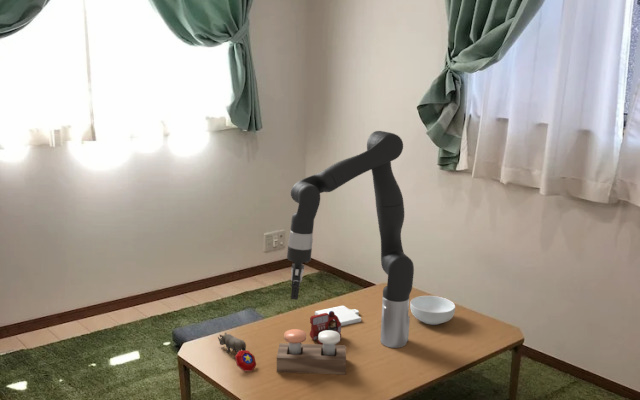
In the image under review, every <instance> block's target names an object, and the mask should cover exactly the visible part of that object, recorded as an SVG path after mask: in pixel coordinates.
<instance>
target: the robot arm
mask: <svg viewBox="0 0 640 400" xmlns="http://www.w3.org/2000/svg"><path fill="white" fill-rule="evenodd" d="M366 141H367V142H366V151H364V152H362V153H359V154H356V155H353V156H351V157H347V158H345V159H343V160H340V161H338V162H335V163H334V164H332V165H330V166H328V167H326V168H325V169H324V170H323V169H322V171H320V172H318V173H316V174H315V173H314V174H313V175H310V176H307V177H305V178H302V179H300V180H299V181H297V182H295V184H294V185H293V186H292V187H291V190H290V197H291V199H292V200H293V201H294V202H295V203H296V204H298V206H297V211H296V212H294V213H293V214H292V216H291V221H290V222H291V223H290V232H289V236H288V243H287V253H286V259H287V261H290V262H293V263H292V264H291V269H290V272H291V274H290V275H291V277H290V280H291V284H290V287H291V293H290V294H291V295H290V299H291V300H299V291H300V288H301V282H302V280H303V275H304V271H305V265H304V263H309V262H311V260H312V251H313V242H314V239H313V237H314V234H313V233H314V224H315V218H316V215H317V212H318V210H319V207H320V204H321V203H320V202H321V193H331V192H333V191H335V190H336V189H338V188H339V187H341V186H344V184H346V183H348V182H350V181H351V180H353V179H355V178H357V177H358V176H360V175H363V174H364V173H367V172H369V171H371V173H372V175H371V176H372V179H373V180H372V183H373V188H374V191H373V192H374V198H375V199H374V200H375V208H376V216H377V221H378V230H379V235H380V261H381V268H382V270H383V271H384V273H385V274H386V275H387V285H386V286H384V288H383V290H382V299H381V300H382V303H381V304H382V306H381V320H380V321H381V324H380V343H381V344H382V345H383V346H385V347H387V348H392V349H397V348H403V347H404V346H406V345H407V342H409V336H410V335H409V333H410V318H411V317H410V316H409V310H410V309H409V308H410V295H411V292H412V290H413V283H414V282H413V281H414V273H415V272H414V271H415V269H414V262H413V260H412V259H411V258H410V257H409V256H407V254H405V253H404V249H403V244H402V243H403V242H402V237H401V236H402V228H403V226H404V221H405V204H404V198H403V194H402V191H401V189H400V185H399V184H398V181H397V180H396V177H395V176H394V173H393V169H392V161H395V160H396V159H398V158H399V157H400V156H401V154H402V152H403V149H404V143H403V142H404V141H403V140H402V138H401V137H400V136H399V135H398V134H395V133H392V132H388V131H382V130H375V131H373V132H372V133H371V134H370V135H369V136H368V138H367V140H366Z"/></svg>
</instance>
